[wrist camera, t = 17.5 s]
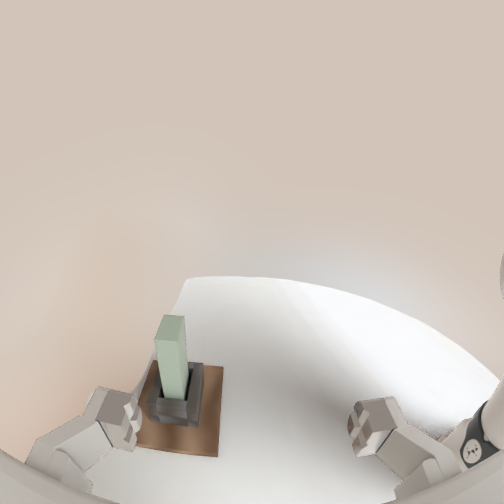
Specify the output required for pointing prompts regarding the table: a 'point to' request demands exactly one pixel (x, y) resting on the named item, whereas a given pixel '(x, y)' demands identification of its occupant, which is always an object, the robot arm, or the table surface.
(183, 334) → the pale green block
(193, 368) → the wooden base with socket
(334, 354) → the table surface
